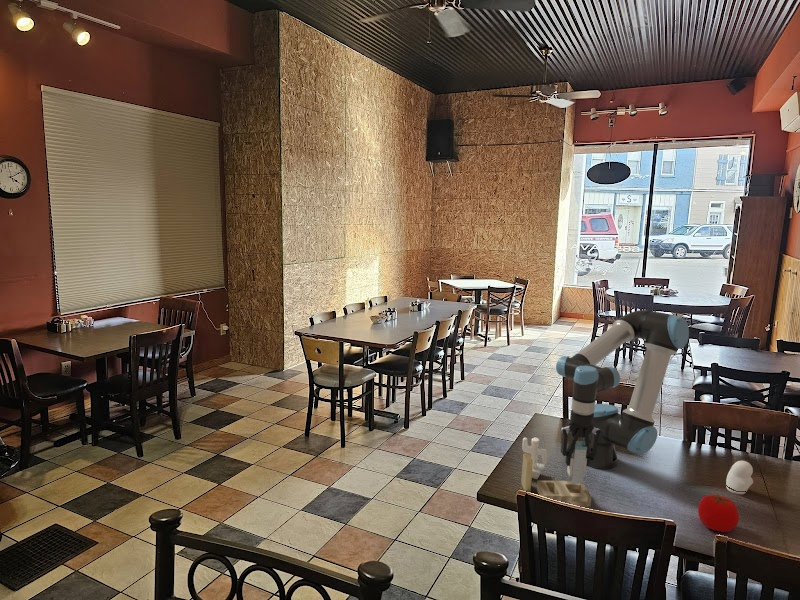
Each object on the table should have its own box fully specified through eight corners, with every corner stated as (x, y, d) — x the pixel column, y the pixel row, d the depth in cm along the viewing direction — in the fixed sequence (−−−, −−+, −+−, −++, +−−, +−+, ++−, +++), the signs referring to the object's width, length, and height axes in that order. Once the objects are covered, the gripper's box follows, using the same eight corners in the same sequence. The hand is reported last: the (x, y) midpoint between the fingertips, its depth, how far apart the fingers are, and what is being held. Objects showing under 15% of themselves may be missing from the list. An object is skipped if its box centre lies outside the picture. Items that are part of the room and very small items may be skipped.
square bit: (579, 477, 187) (583, 441, 185) (583, 484, 183) (587, 446, 181) (567, 477, 187) (571, 440, 185) (571, 483, 183) (575, 446, 181)
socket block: (580, 491, 192) (581, 481, 191) (590, 507, 182) (591, 496, 181) (536, 490, 192) (537, 480, 191) (544, 506, 182) (545, 495, 181)
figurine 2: (741, 497, 190) (746, 467, 188) (721, 487, 197) (725, 457, 194) (753, 493, 193) (758, 463, 191) (732, 483, 200) (737, 454, 198)
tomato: (699, 533, 169) (703, 503, 167) (693, 512, 180) (697, 484, 178) (740, 542, 165) (745, 511, 163) (731, 520, 176) (736, 491, 174)
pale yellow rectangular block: (526, 483, 196) (528, 453, 194) (530, 491, 191) (532, 461, 188) (521, 483, 196) (523, 453, 194) (525, 491, 191) (527, 461, 188)
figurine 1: (543, 482, 197) (546, 445, 194) (518, 476, 201) (520, 439, 198) (547, 474, 203) (550, 438, 200) (523, 468, 207) (525, 432, 205)
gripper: (603, 407, 184) (596, 469, 189) (554, 406, 184) (548, 467, 188) (611, 416, 177) (604, 480, 181) (561, 414, 177) (554, 478, 181)
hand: (576, 473), depth 185 cm, fingers closed on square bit, 4 cm apart
